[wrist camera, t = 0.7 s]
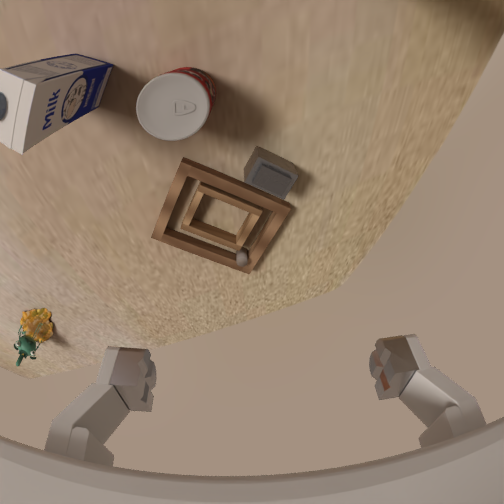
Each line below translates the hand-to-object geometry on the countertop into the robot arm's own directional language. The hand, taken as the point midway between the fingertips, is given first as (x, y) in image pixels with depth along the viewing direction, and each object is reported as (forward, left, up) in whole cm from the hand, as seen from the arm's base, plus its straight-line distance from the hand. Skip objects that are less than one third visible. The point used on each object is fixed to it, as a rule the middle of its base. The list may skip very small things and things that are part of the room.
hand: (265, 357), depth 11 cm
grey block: (+5, +6, -38) cm, 39 cm away
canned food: (0, -9, -38) cm, 39 cm away
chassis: (+15, +3, -38) cm, 41 cm away
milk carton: (+3, -24, -38) cm, 45 cm away
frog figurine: (+63, -28, -38) cm, 79 cm away
